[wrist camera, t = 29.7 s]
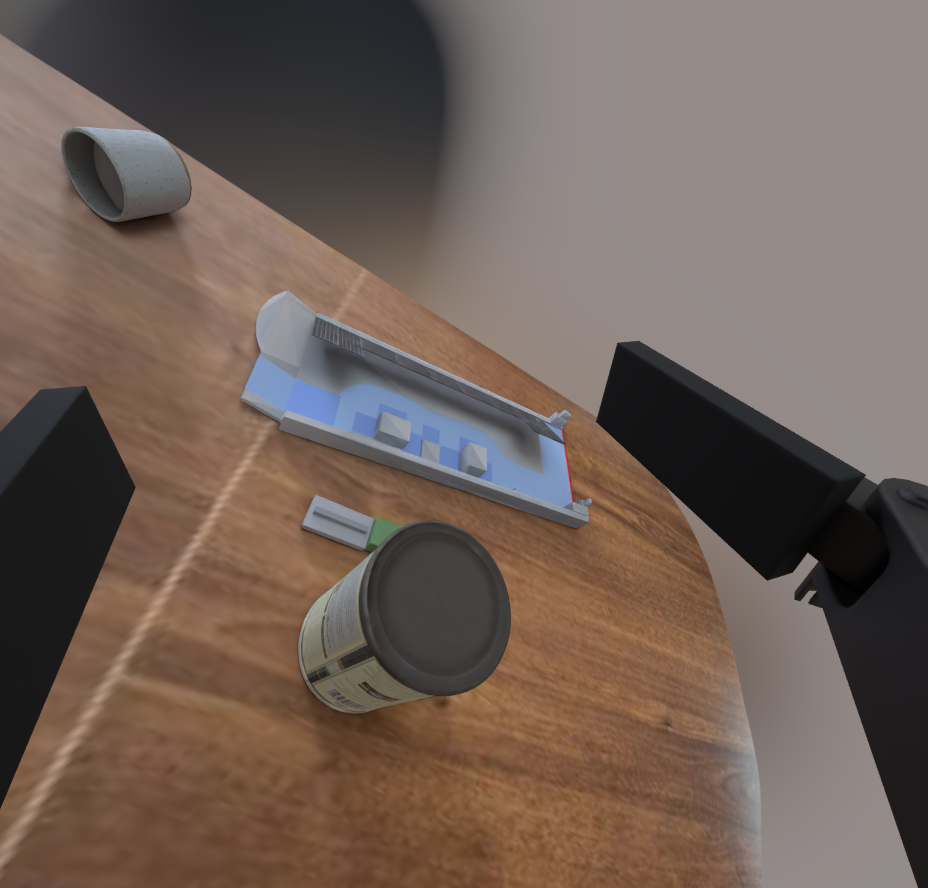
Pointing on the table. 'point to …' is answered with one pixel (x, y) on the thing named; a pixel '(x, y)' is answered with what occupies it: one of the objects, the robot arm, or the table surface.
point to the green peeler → (346, 525)
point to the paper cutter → (407, 413)
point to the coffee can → (408, 622)
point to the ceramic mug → (125, 172)
